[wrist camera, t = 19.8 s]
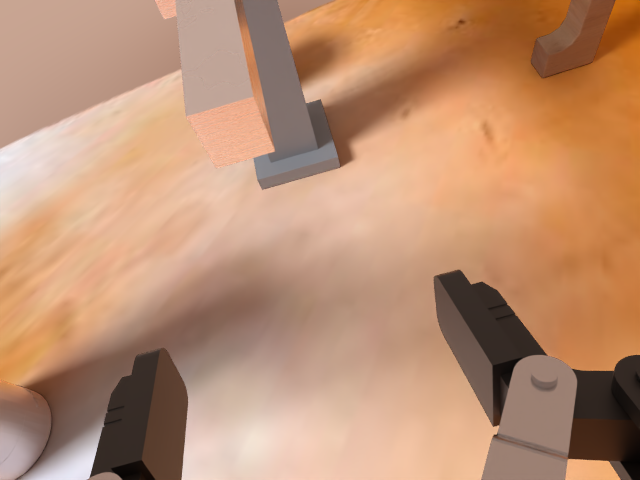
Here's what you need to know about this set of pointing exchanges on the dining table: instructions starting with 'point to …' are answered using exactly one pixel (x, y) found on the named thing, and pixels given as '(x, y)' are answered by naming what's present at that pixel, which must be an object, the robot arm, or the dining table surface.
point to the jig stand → (286, 104)
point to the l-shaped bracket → (572, 38)
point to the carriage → (220, 79)
